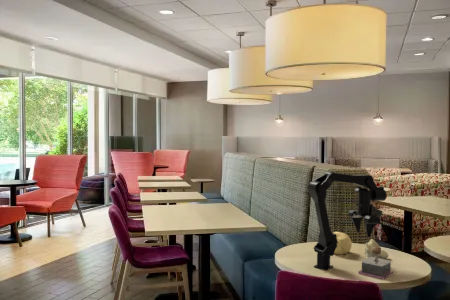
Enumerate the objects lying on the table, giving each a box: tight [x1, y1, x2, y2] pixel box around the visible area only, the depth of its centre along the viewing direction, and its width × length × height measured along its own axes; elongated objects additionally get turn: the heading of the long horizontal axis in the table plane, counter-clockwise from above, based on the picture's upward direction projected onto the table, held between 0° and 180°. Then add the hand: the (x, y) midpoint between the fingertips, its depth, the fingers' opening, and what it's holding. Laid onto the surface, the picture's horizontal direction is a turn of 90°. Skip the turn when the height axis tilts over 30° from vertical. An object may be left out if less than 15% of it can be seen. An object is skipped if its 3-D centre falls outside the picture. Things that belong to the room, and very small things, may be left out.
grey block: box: [358, 257, 395, 280], centre depth 183 cm, size 11×11×6 cm
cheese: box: [364, 238, 389, 260], centre depth 204 cm, size 15×7×15 cm
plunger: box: [372, 246, 382, 262], centre depth 183 cm, size 7×7×7 cm
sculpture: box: [332, 231, 352, 255], centre depth 215 cm, size 12×12×11 cm
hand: (363, 234), depth 197 cm, fingers open, 9 cm apart
